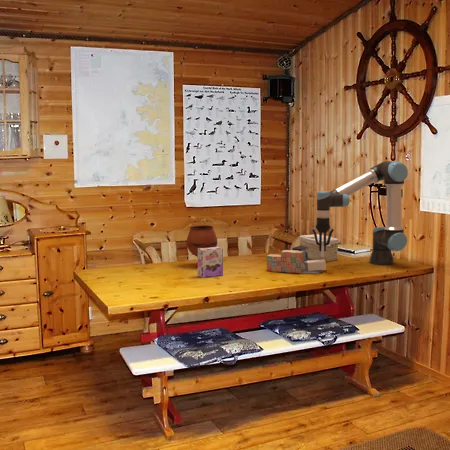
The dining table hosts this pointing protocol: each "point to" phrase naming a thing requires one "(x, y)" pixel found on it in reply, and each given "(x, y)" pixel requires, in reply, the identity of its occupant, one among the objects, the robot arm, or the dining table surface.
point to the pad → (312, 272)
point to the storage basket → (314, 248)
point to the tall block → (315, 265)
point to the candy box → (210, 262)
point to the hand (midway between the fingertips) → (322, 256)
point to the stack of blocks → (286, 261)
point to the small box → (302, 248)
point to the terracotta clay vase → (201, 239)
